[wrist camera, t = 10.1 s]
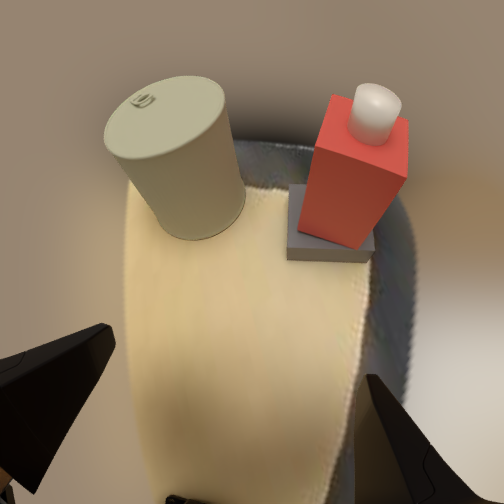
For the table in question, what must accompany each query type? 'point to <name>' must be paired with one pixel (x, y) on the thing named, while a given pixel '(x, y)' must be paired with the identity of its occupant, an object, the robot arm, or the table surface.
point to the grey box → (315, 247)
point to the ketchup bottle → (355, 166)
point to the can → (180, 155)
